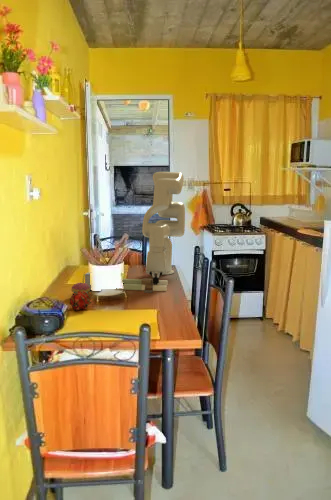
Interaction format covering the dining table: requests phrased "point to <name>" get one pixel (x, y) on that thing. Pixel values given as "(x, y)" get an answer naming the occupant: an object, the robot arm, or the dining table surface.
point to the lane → (130, 285)
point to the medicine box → (87, 279)
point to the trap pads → (148, 291)
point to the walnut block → (147, 283)
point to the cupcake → (80, 286)
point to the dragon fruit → (80, 300)
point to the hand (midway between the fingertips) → (155, 284)
